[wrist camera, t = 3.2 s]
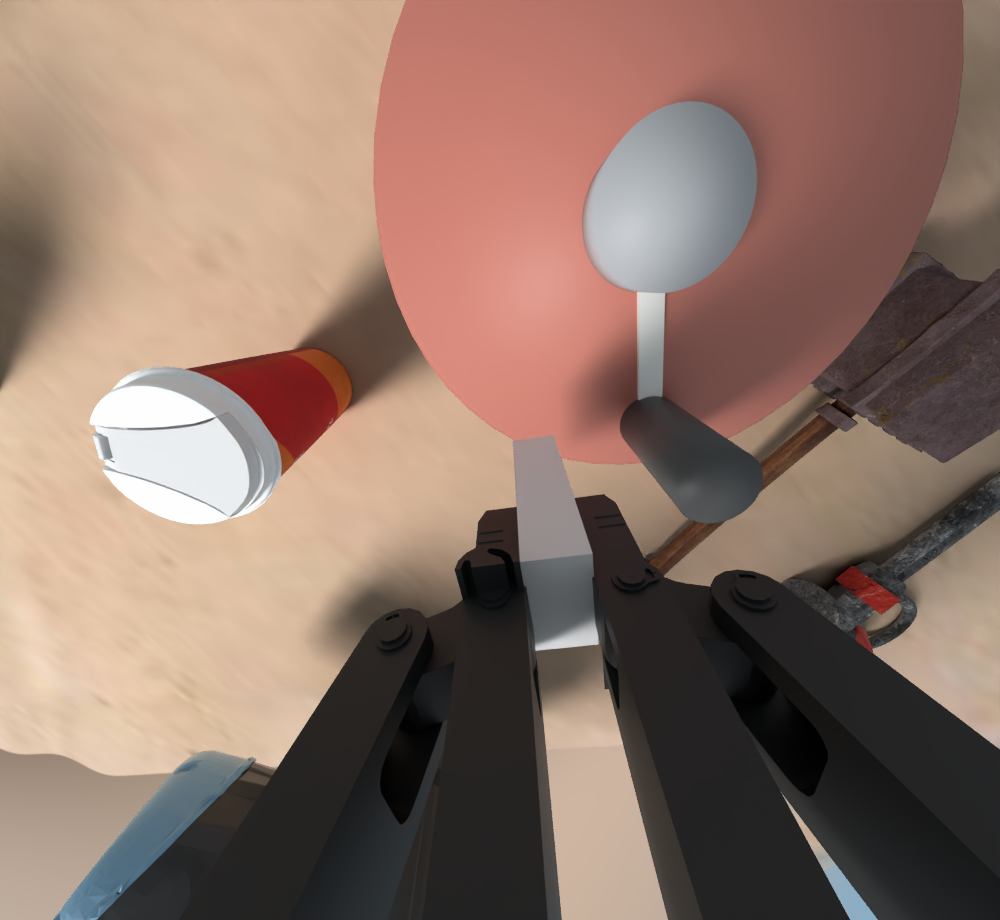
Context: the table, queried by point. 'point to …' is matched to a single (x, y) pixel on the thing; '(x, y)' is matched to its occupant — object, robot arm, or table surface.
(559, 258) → the handwheel
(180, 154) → the table surface
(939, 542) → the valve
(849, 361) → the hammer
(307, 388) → the paper cup
